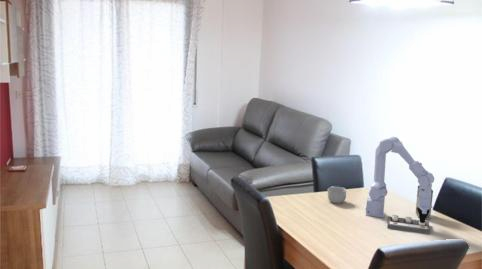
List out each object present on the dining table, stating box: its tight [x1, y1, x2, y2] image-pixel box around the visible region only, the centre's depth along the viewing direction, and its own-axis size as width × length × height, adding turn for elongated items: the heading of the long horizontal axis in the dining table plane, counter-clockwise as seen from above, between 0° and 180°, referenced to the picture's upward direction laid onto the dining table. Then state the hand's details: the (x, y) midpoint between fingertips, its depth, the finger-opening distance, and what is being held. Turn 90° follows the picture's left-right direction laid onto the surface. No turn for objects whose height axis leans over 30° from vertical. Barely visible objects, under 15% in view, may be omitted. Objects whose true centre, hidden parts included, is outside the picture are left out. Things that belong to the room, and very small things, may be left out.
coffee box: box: [415, 184, 434, 220], centre depth 236 cm, size 9×6×16 cm
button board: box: [387, 216, 431, 235], centre depth 222 cm, size 20×12×2 cm, turn 70°
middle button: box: [405, 216, 413, 223], centre depth 222 cm, size 3×3×2 cm
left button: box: [391, 214, 399, 222], centre depth 225 cm, size 3×3×2 cm
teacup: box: [327, 185, 347, 205], centre depth 259 cm, size 14×11×8 cm
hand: (422, 222), depth 220 cm, fingers closed, pressing on right button
